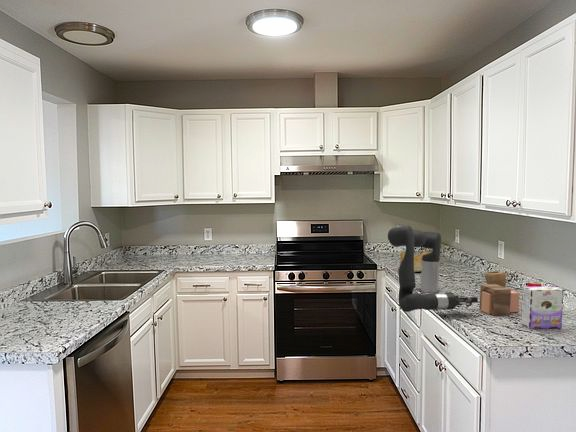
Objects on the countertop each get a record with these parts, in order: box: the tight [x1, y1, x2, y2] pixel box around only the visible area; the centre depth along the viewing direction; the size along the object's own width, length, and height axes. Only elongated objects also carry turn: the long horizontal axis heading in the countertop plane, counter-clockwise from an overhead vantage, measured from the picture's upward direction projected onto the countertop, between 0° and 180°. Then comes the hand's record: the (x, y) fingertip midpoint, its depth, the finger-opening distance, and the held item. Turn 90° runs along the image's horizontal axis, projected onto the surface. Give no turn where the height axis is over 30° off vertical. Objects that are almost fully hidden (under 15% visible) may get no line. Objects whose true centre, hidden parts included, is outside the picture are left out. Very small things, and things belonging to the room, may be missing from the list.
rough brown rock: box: [400, 250, 432, 273], centre depth 274 cm, size 23×17×15 cm
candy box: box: [520, 286, 564, 329], centre depth 164 cm, size 14×6×16 cm, turn 92°
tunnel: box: [479, 283, 512, 317], centre depth 183 cm, size 10×8×12 cm
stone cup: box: [484, 270, 507, 287], centre depth 204 cm, size 15×12×15 cm
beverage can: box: [526, 280, 543, 287], centre depth 193 cm, size 6×6×12 cm
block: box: [480, 289, 521, 315], centre depth 183 cm, size 5×16×9 cm, turn 102°
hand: (476, 299), depth 180 cm, fingers closed
